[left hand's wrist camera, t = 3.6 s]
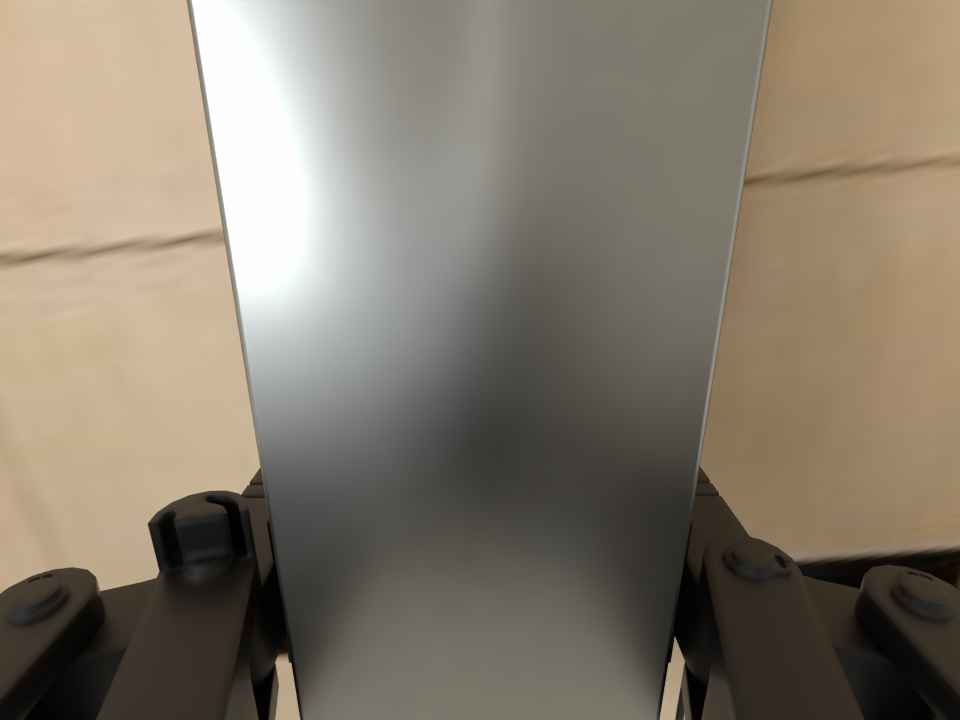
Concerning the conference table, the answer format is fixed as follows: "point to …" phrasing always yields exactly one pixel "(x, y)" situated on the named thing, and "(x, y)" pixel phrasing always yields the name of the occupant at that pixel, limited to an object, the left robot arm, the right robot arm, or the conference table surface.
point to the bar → (479, 331)
